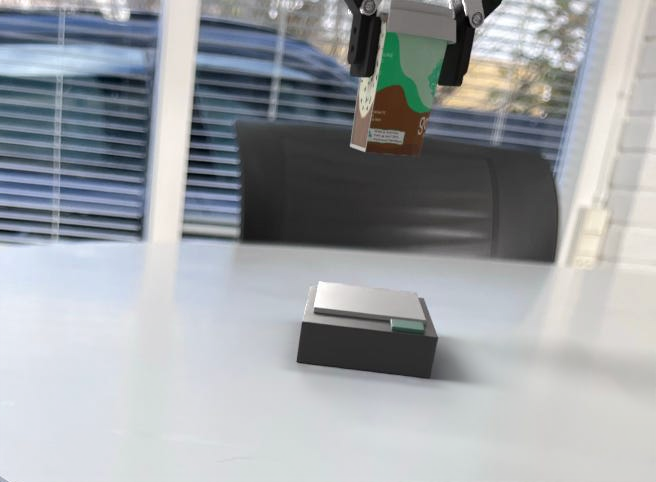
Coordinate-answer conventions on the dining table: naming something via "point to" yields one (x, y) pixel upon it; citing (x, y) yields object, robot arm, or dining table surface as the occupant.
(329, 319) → the scale
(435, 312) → the dining table surface
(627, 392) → the dining table surface
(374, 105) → the food container
